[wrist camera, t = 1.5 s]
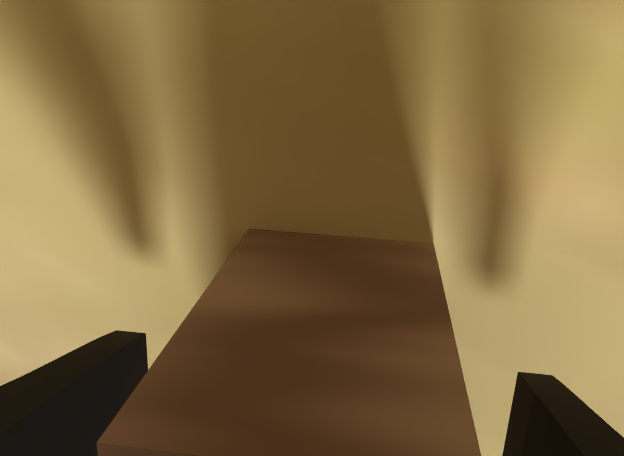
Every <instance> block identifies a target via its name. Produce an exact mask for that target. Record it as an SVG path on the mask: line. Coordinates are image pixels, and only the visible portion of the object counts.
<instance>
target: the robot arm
mask: <svg viewBox="0 0 624 456" xmlns="http://www.w3.org/2000/svg"><path fill="white" fill-rule="evenodd" d="M147 371H148V363H147V346H146V333H136V332H126V331H114V332H112V333H109V334H107V335H104V336H102V337H100V338H98V339H96V340H93V341H91V342H89V343H87V344H85V345H83V346H81V347H79V348H77V349H75V350H73V351H71V352H69V353H67V354H65V355H64V356H62V357H60V358H58V359H56V360H54V361H52V362H50V363H48V364H46V365H44V366H42V367H40V368H38V369H36V370H34V371H32V372H30V373H28V374H26V375H24V376H21V377H19V378H17V379H15V380H13V381H11V382H8V383H6V384H4V385H2V386H0V456H98V452H97V441H98V440H99V439H100V437H101V436H102V434H103V433H104V432H105V430H106V429H107V427H108V426H109V425H110V423H111V422H112V420H113V419H114V418H115V416H116V415H117V413H118V412H119V411H120V409H121V408H122V406H123V405H124V404H125V402H126V401H127V399H128V398H129V397H130V395H131V394H132V392H133V391H134V390H135V388H136V387H137V385H138V384H139V383H140V381H141V380H142V378H143V377H144V376H145V374H146V373H147ZM503 456H624V438H623V437H622V436H621V435H620V434H619V433H618V432H616V431H615V430H614V429H613V428H612V427H611V426H610V425H608V424H607V423H606V422H605V421H604V420H603V419H602V418H601V417H599V416H598V415H597V414H596V413H595V412H594V411H593V410H592V409H590V408H589V407H588V406H587V405H586V404H585V403H584V402H583V401H582V400H580V399H579V398H578V397H577V396H576V395H575V394H574V393H573V392H571V391H570V390H569V389H568V388H567V387H566V386H565V385H563V384H562V383H561V382H560V381H559V380H557V379H556V378H555V377H554V376H552V375H544V374H534V373H524V372H518V375H517V380H516V386H515V391H514V396H513V402H512V407H511V413H510V418H509V424H508V429H507V434H506V440H505V445H504V451H503Z"/></svg>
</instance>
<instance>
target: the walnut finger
mask: <svg viewBox="0 0 624 456" xmlns="http://www.w3.org/2000/svg"><path fill="white" fill-rule="evenodd" d="M97 452H98V456H481V453H480V449H479V444H478V440H477V435H476V431H475V426H474V422H473V417H472V413H471V408H470V404H469V400H468V395H467V391H466V386H465V382H464V377H463V373H462V368H461V364H460V359H459V355H458V351H457V346H456V342H455V337H454V333H453V328H452V324H451V319H450V315H449V310H448V306H447V301H446V297H445V293H444V288H443V284H442V279H441V275H440V270H439V266H438V261H437V257H436V252H435V248H434V244H427V243H415V242H403V241H391V240H378V239H366V238H354V237H342V236H329V235H317V234H305V233H293V232H280V231H268V230H256V229H249V230H248V231H247V233H246V234H245V235H244V237H243V238H242V240H241V241H240V242H239V244H238V245H237V247H236V248H235V249H234V251H233V252H232V254H231V255H230V256H229V258H228V259H227V261H226V262H225V263H224V265H223V266H222V268H221V269H220V270H219V272H218V273H217V275H216V276H215V277H214V279H213V280H212V282H211V283H210V284H209V286H208V287H207V289H206V290H205V291H204V293H203V294H202V296H201V297H200V298H199V300H198V301H197V303H196V304H195V305H194V307H193V308H192V310H191V311H190V312H189V314H188V315H187V317H186V318H185V319H184V321H183V322H182V324H181V325H180V326H179V328H178V329H177V331H176V332H175V333H174V335H173V336H172V338H171V339H170V340H169V342H168V343H167V345H166V346H165V348H164V349H163V350H162V352H161V353H160V355H159V356H158V357H157V359H156V360H155V362H154V363H153V364H152V366H151V367H150V369H149V370H148V371H147V373H146V374H145V376H144V377H143V378H142V380H141V381H140V383H139V384H138V385H137V387H136V388H135V390H134V391H133V392H132V394H131V395H130V397H129V398H128V399H127V401H126V402H125V404H124V405H123V406H122V408H121V409H120V411H119V412H118V413H117V415H116V416H115V418H114V419H113V420H112V422H111V423H110V425H109V426H108V427H107V429H106V430H105V432H104V433H103V434H102V436H101V437H100V439H99V440H98V441H97Z"/></svg>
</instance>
